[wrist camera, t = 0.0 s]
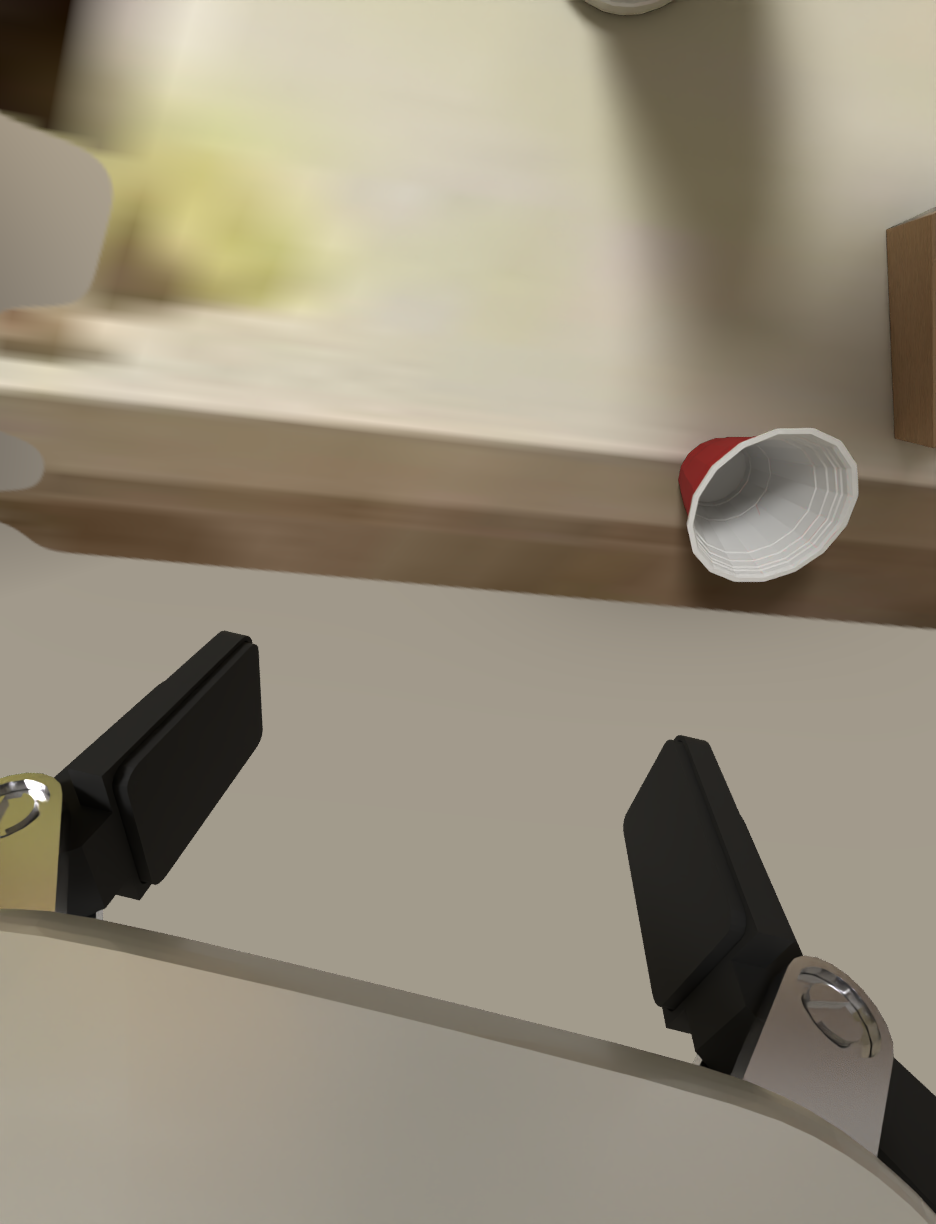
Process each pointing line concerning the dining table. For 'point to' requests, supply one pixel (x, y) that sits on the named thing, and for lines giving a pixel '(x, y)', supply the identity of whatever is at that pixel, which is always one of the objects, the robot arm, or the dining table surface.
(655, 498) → the dining table surface
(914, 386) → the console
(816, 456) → the plastic cup
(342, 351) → the dining table surface
